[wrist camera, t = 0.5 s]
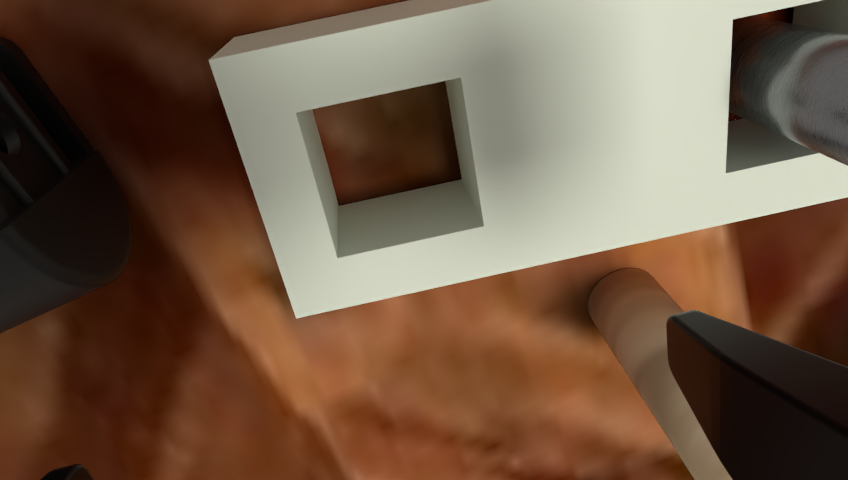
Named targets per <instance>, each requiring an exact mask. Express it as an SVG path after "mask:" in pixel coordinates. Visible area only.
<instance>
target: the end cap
mask: <svg viewBox="0 0 848 480" xmlns="http://www.w3.org/2000/svg"><path fill="white" fill-rule="evenodd" d="M131 245H132V229H131V223H130V217H129V213H128V209H127V206H126V203H125V199H124V197H123V194H122V192H121V190H120V187H119V185H118V183H117V181H116V179H115V177H114V175H113V173H112V171H111V170H110V168H109V166H108V164H107V163H106V161H105V160H104V158H103V157H102V155H101V154H100V152H99V151H98V150H95V151H94V149H93V148H92V146H91V144H90V143H89V142H88V140H87V139H86V137H85V136H84V135H83V133H82V132H81V131H80V129H79V128H78V126H77V125H76V124H75V122H74V121H73V120H72V118H71V117H70V116H69V114H68V113H67V111H66V110H65V109H64V107H63V106H62V105H61V103H60V102H59V101H58V99H57V98H56V96H55V95H54V94H53V92H52V91H51V90H50V88H49V87H48V85H47V84H46V83H45V81H44V80H43V79H42V77H41V76H40V75H39V73H38V72H37V70H36V69H35V68H34V66H33V65H32V64H31V62H30V61H29V60H28V58H27V57H26V55H25V54H24V53H23V51H22V50H21V49H20V48H19V47H18V46H17V45H15V44H14V43H13V42H12V41H9V40H6V39H3V38H0V333H2V332H4V331H6V330H8V329H11V328H13V327H15V326H17V325H19V324H22V323H24V322H26V321H28V320H30V319H32V318H35V317H37V316H39V315H41V314H43V313H46V312H48V311H50V310H52V309H54V308H57V307H59V306H61V305H63V304H65V303H68V302H70V301H72V300H74V299H76V298H78V297H81V296H83V295H85V294H87V293H89V292H92V291H94V290H96V289H98V288H100V287H102V286H104V285H106V284H108V283H110V282H112V281H114V280H115V279H116V278H117V277H118V276H119V275H120V274H121V273H122V271H123V270H124V268H125V266H126V264H127V262H128V260H129V256H130V251H131Z"/></svg>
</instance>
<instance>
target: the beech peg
mask: <svg viewBox="0 0 848 480" xmlns="http://www.w3.org/2000/svg"><path fill="white" fill-rule="evenodd" d="M588 312H589V315H590V317H591V319H592V321H593V322H594V324H595V325H596V327H597V328H598V330H599V332H600V333H601V335H602V336H603V338H604V339H605V341H606V342H607V344H608V346H609V347H610V349H611V350H612V352H613V353H614V355H615V356H616V358H617V359H618V361H619V363H620V364H621V366H622V367H623V369H624V370H625V372H626V373H627V375H628V377H629V378H630V380H631V381H632V383H633V384H634V386H635V387H636V389H637V391H638V392H639V394H640V395H641V397H642V398H643V400H644V401H645V403H646V405H647V406H648V408H649V409H650V411H651V412H652V414H653V415H654V417H655V419H656V420H657V422H658V423H659V425H660V426H661V428H662V429H663V431H664V432H665V434H666V436H667V437H668V439H669V440H670V442H671V443H672V445H673V446H674V448H675V450H676V451H677V453H678V454H679V456H680V457H681V459H682V460H683V462H684V464H685V465H686V467H687V468H688V470H689V471H690V473H691V474H692V476H693V478H694V479H695V480H733V479H732V478H731V477H730V475H729V474H728V472H727V471H726V469H725V468H724V466H723V465H722V463H721V462H720V460H719V458H718V457H717V455H716V453H715V451H714V450H713V448H712V446H711V444H710V443H709V441H708V439H707V437H706V435H705V433H704V432H703V430H702V428H701V426H700V424H699V422H698V421H697V419H696V417H695V415H694V413H693V411H692V410H691V408H690V406H689V404H688V402H687V401H686V399H685V397H684V395H683V393H682V391H681V390H680V388H679V386H678V384H677V382H676V380H675V379H674V377H673V375H672V373H671V370H670V367H669V363H668V353H667V332H666V323H667V319H668V318H669V317H670V316H671V315H674V314H678V313H682V312H684V311H683V310H682V309H681V308H680V307H679V305H678V304H677V303H676V302H675V301H674V300H673V299H672V298H671V297H670V295H669V294H668V293H667V292H666V291H665V290H664V289H663V288H662V287H661V286H660V284H659V283H658V282H657V281H656V280H655V279H654V278H653V277H652V276H651V275H650V274H649V273H647V272H646V271H643V270H641V269H636V268H626V269H621V270H617V271H615V272H612V273H610V274H609V275H607V276H605V277H604V278H603V279H602V280H600V281H599V282H598V283H597V285H596V286H595V287H594V289H593V290H592V292H591V294H590V297H589V300H588Z"/></svg>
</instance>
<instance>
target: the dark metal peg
mask: <svg viewBox="0 0 848 480" xmlns="http://www.w3.org/2000/svg"><path fill="white" fill-rule="evenodd" d="M729 112H730V113H733V114H735V115H737V116H739V117H741V118H744V119H746V120H748V121H750V122H752V123H755V124H757V125H759V126H761V127H763V128H766V129H768V130H770V131H772V132H774V133H777V134H779V135H781V136H783V137H785V138H788V139H790V140H792V141H794V142H796V143H799V144H801V145H803V146H805V147H807V148H810V149H812V150H814V151H816V152H818V153H821V154H823V155H825V156H827V157H829V158H832V159H834V160H836V161H838V162H840V163H843V164H845V165H847V166H848V34H844V33H839V32H833V31H828V30H823V29H818V28H813V27H808V26H802V25H797V24H792V23H787V22H782V21H776V20H771V19H766V18H761V17H756V16H747V17H742V18H737V19H733V26H732V48H731V69H730V90H729Z"/></svg>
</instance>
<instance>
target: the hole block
mask: <svg viewBox="0 0 848 480" xmlns="http://www.w3.org/2000/svg"><path fill="white" fill-rule="evenodd" d="M789 7H794V11H793V22H792V24H797V25H802V26H808V27H813V28H818V29H823V30H828V31H833V32H839V33H844V34H848V0H408V1H403V2H399V3H394V4H389V5H384V6H380V7H375V8H370V9H365V10H361V11H356V12H351V13H346V14H342V15H337V16H332V17H327V18H323V19H318V20H313V21H308V22H304V23H299V24H294V25H289V26H285V27H280V28H275V29H270V30H266V31H261V32H256V33H251V34H247V35H242V36H237V37H234V38H233V39H232V40H230V41H229V42H228V43H227V44H226V45H225V46H224V47H223V48H221V49H220V50H219V51H218V52H217V53H216V54H215V55H214V56H212V57H211V58H210V59H209V60H208V61H209V63H210V66H211V69H212V72H213V75H214V78H215V81H216V84H217V87H218V90H219V93H220V96H221V99H222V102H223V105H224V108H225V111H226V113H227V116H228V119H229V122H230V125H231V128H232V131H233V134H234V137H235V140H236V143H237V146H238V149H239V152H240V155H241V158H242V161H243V163H244V166H245V169H246V172H247V175H248V178H249V181H250V184H251V187H252V190H253V193H254V196H255V199H256V202H257V205H258V208H259V211H260V213H261V216H262V219H263V222H264V225H265V228H266V231H267V234H268V237H269V240H270V243H271V246H272V249H273V252H274V255H275V258H276V261H277V264H278V266H279V269H280V272H281V275H282V278H283V281H284V284H285V287H286V290H287V293H288V296H289V299H290V302H291V305H292V308H293V311H294V314H295V316H296V318H301V317H305V316H310V315H314V314H319V313H323V312H328V311H332V310H337V309H341V308H346V307H351V306H355V305H360V304H364V303H369V302H373V301H378V300H382V299H387V298H391V297H396V296H401V295H405V294H410V293H414V292H419V291H423V290H428V289H432V288H437V287H441V286H446V285H451V284H455V283H460V282H464V281H469V280H473V279H478V278H482V277H487V276H492V275H496V274H501V273H505V272H510V271H514V270H519V269H523V268H528V267H532V266H537V265H542V264H546V263H551V262H555V261H560V260H564V259H569V258H573V257H578V256H582V255H587V254H592V253H596V252H601V251H605V250H610V249H614V248H619V247H623V246H628V245H632V244H637V243H642V242H646V241H651V240H655V239H660V238H664V237H669V236H673V235H678V234H682V233H687V232H692V231H696V230H701V229H705V228H710V227H714V226H719V225H723V224H728V223H733V222H737V221H742V220H746V219H751V218H755V217H760V216H764V215H769V214H773V213H778V212H783V211H787V210H792V209H796V208H801V207H805V206H810V205H814V204H819V203H823V202H828V201H833V200H837V199H842V198H846V197H848V166H847V165H845V164H843V163H840V162H838V161H836V160H834V159H832V158H829V157H827V156H825V155H823V154H821V153H818V152H816V151H814V150H812V149H810V148H807V147H805V146H803V145H801V144H799V143H796V142H794V141H792V140H790V139H788V138H785V137H783V136H781V135H779V134H777V133H774V132H772V131H770V130H768V129H766V128H763V127H761V126H759V125H757V124H755V123H752V122H750V121H748V120H746V119H744V118H742V119H738V120H733V121H728V112H729V90H730V69H731V48H732V26H733V19H737V18H742V17H747V16H752V15H756V14H761V13H766V12H770V11H775V10H780V9H784V8H789ZM442 81H445V83H446V89H447V95H448V101H449V107H450V112H451V118H452V124H453V130H454V136H455V142H456V148H457V154H458V160H459V166H460V172H461V178H462V179H461V180H456V181H451V182H447V183H442V184H438V185H433V186H428V187H424V188H419V189H415V190H410V191H405V192H401V193H396V194H391V195H387V196H382V197H378V198H373V199H368V200H364V201H359V202H355V203H350V204H345V205H341V206H339V205H338V201H337V197H336V194H335V190H334V186H333V183H332V179H331V175H330V172H329V168H328V164H327V161H326V157H325V153H324V150H323V146H322V142H321V139H320V135H319V132H318V128H317V124H316V121H315V117H314V113H313V110H312V109H316V108H320V107H325V106H330V105H334V104H339V103H344V102H348V101H353V100H358V99H362V98H367V97H372V96H377V95H381V94H386V93H391V92H395V91H400V90H405V89H409V88H414V87H419V86H423V85H428V84H433V83H437V82H442Z"/></svg>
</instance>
